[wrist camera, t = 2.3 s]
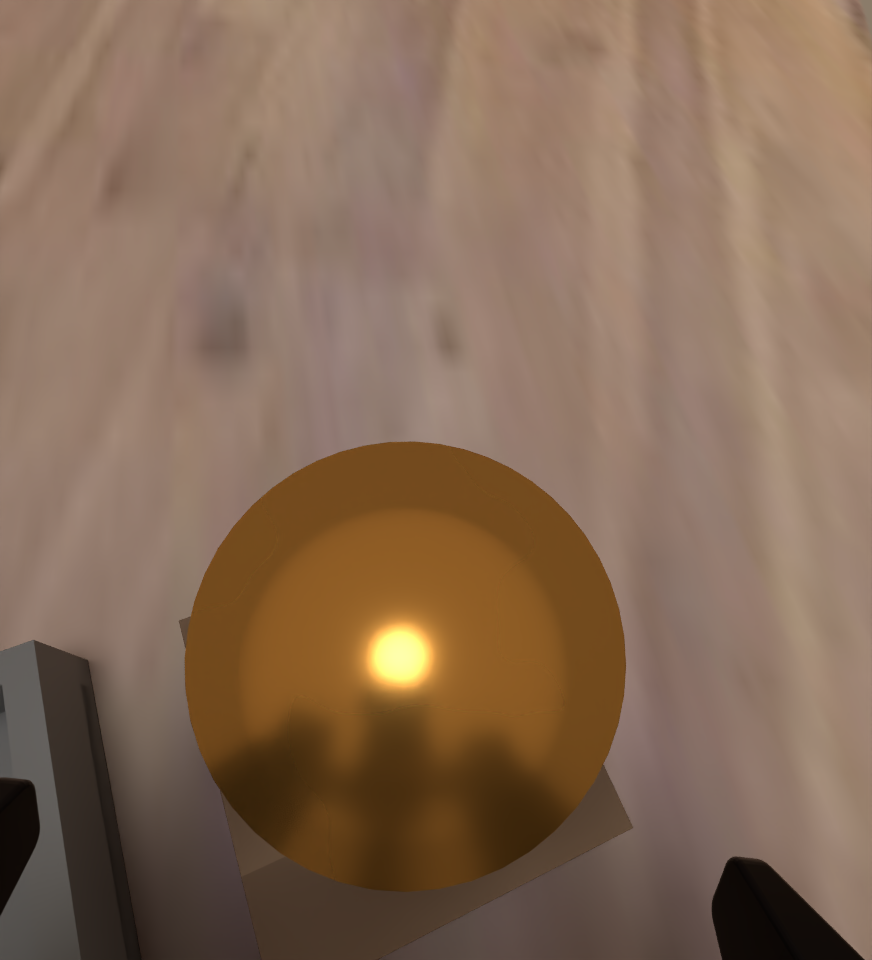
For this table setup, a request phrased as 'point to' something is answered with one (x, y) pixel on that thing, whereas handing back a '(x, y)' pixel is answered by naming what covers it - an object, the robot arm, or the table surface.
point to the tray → (62, 815)
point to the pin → (405, 666)
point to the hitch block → (391, 914)
